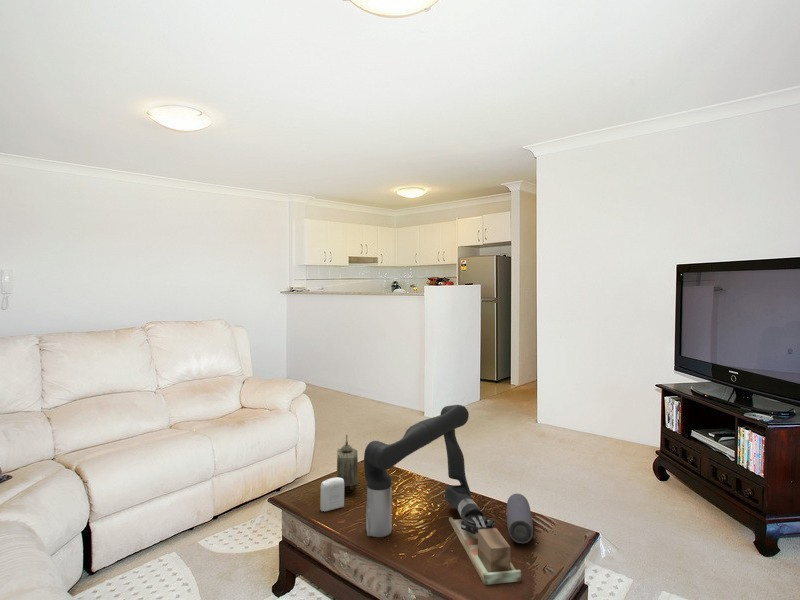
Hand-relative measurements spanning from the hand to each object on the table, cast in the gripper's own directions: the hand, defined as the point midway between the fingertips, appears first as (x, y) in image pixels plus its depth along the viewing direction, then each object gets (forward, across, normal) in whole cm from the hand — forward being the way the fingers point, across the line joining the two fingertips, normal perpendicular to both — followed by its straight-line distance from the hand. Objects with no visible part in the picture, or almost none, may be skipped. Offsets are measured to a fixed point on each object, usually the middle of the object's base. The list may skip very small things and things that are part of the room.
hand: (486, 536), depth 157 cm
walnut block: (+6, 0, +6) cm, 9 cm away
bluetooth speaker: (-14, +18, +7) cm, 24 cm away
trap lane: (-6, 0, +6) cm, 9 cm away
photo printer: (-44, -51, +7) cm, 68 cm away
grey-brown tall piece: (-61, -44, +7) cm, 75 cm away
